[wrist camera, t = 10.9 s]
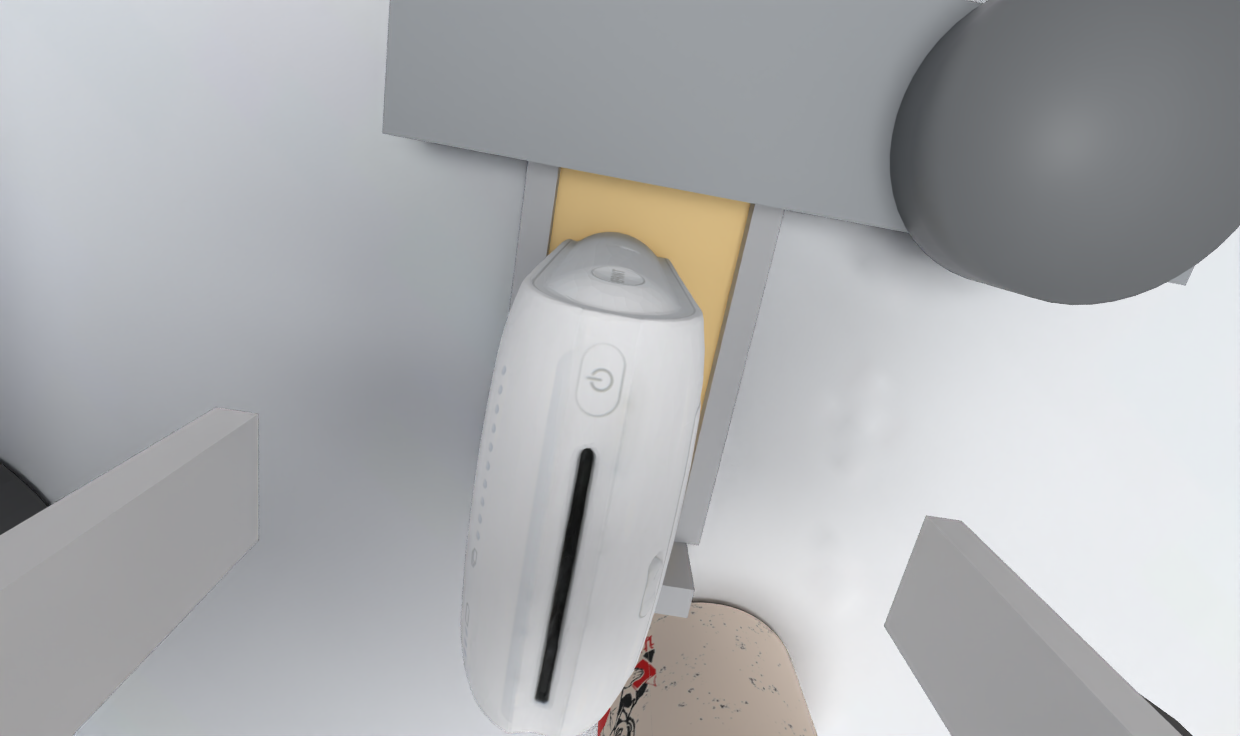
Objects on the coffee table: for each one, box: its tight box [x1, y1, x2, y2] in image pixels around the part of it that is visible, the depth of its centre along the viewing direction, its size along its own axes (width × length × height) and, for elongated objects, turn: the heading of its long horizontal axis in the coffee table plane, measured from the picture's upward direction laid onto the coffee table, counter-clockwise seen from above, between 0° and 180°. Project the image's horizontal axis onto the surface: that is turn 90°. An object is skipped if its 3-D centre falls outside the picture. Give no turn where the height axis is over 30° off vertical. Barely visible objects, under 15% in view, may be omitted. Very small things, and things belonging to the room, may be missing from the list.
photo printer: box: [461, 232, 705, 736], centre depth 16 cm, size 10×4×12 cm, turn 169°
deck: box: [382, 0, 1240, 618], centre depth 19 cm, size 24×21×7 cm
